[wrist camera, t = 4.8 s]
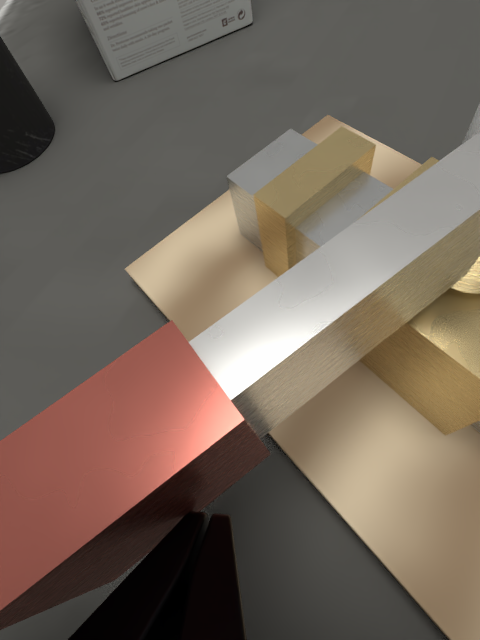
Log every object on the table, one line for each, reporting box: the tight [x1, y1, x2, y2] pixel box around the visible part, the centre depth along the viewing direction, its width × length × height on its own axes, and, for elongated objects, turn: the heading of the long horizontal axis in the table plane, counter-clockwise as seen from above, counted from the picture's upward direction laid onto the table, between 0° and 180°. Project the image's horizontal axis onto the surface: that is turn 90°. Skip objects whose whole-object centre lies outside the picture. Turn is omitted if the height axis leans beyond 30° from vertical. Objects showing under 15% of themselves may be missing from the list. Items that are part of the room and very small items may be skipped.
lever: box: [0, 104, 480, 630], centre depth 8 cm, size 14×3×5 cm, turn 126°
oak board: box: [125, 115, 480, 640], centre depth 17 cm, size 26×16×1 cm, turn 41°
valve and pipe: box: [226, 126, 480, 436], centre depth 14 cm, size 20×6×5 cm, turn 41°
